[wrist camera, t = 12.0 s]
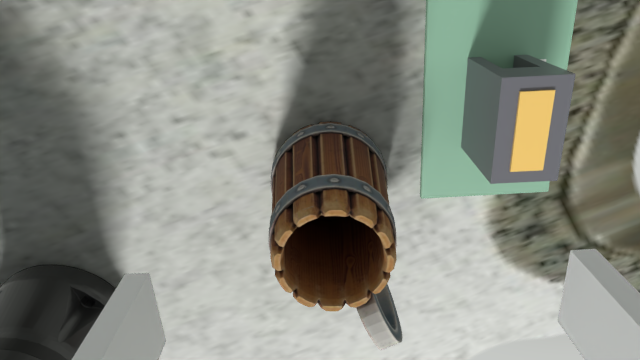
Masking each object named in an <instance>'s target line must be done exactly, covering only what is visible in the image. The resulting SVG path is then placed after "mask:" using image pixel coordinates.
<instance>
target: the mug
mask: <svg viewBox="0 0 640 360" xmlns="http://www.w3.org/2000/svg"><path fill="white" fill-rule="evenodd" d="M387 188H388V187H387V172H386V166H385V163H384V160H383V157H382V155H381V152H380V151H379V149H378V148H377V147H376V145H375V144H374V143H373V141H372V140H371V139H369V138H368V137H367V135H366V134H364V133H363V132H361V131H360V130H359V129H356V128H354V127H352V126H350V125H349V126H346V125H342V124H341V123H338V122H320V123H319V124H318V125H308V126H306V127H304V128H301V129H300V130H298V131H297V132H295V133H294V134H293V136H292V137H290V138H289V139H288V140H286V141H285V142H284V144H283V145H282V146H281V148H280V149H279V151H278V153H277V155H276V157H275V160H274V162H273V166H272V174H271V190H272V196H273V198H272V215H271V220H270V228H269V248H270V254H271V262H272V267H273V268H274V269H275V276H276V278H277V280H278V282H279V284H280V285H281V286H282V288H283V289H284V290H285V291H286V292H289V293H291V292H293V297H294V298H295V299H296V300H297V301H298V302H299V303H301V304H303V305H305V306H308V307H313V306H315V305H316V304H317V303H318V304H319V305H320V307H321V308H322V309H324V310H325V311H339V310H340V309H342V308H343V306H344V305H345V303H347V304H348V305H349V306H350V307H355V308H357V311H358V313H359V316H360V318H361V320H362V322H363V325H364V327H365V329H366V330H367V332H368V334H369V336H370V337H371V339H372V340H373V342H374V343H375V345H376V346H377V347H378V348H379V349H381V350H383V349H386V348H388V347H391V346H393V345H395V344H398V343H400V342H402V331H401V326H400V322H399V318H398V315H397V311H396V308H395V305H394V301H393V298H392V295H391V293H390V290H389V287H388V285H387V282H388V280H389V278H390V272H391V271H392V270H393V269H394V266H395V262H396V246H397V243H396V228H395V222H394V217H393V214H392V212H391V209H390V206H389V200H388V194H387Z"/></svg>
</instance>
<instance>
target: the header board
mask: <svg viewBox="0 0 640 360" xmlns="http://www.w3.org/2000/svg"><path fill="white" fill-rule="evenodd" d="M577 1H578V0H426V25H425V57H424V88H423V120H422V152H421V183H420V197H421V199H422V198H440V197H458V196H476V195H494V194H512V193H530V192H548V189H549V182H550V181H540V182H519V183H499V184H490V183H489V181H488V180H487V179H486V178H485V176H484V175H483V174H482V173H481V171H480V170H479V169H478V168H477V166H476V165H475V164H474V163H473V162H472V160H471V159H470V158H469V157H468V155H467V154H466V153H465V152H464V150H463V149H462V148H461V139H462V126H463V113H464V100H465V87H466V74H467V61H468V58H471V57H482V58H484V59H486V60H487V61H489V62H491V63H493V64H495V65H497V66H499V67H501V68H502V69H503V68H513V63H514V55H530V56H532V57H535V58H537V59H540V60H542V61H545V62H547V63H550V64H552V65H555V66H557V67H559V68H562V69H564V70H567V66H568V59H569V53H570V46H571V40H572V33H573V27H574V20H575V14H576V7H577Z"/></svg>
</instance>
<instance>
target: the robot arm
mask: <svg viewBox="0 0 640 360" xmlns="http://www.w3.org/2000/svg"><path fill="white" fill-rule="evenodd" d="M558 322H559V324H560V325H561V327H562V328H563V329H564V331H565V332H566V334H567V335H568V337H569V338H570V340H571V341H572V342H573V344H574V345H575V347H576V348H577V350H578V351H579V353H580V354H581V356H582V357H583V358H584V360H640V293H639V292H638V291H637V290H636V289H635V288H634V287H633V286H632V285H631V284H630V283H629V282H628V281H627V280H626V279H625V278H624V277H623V276H622V275H621V274H620V273H619V272H618V271H617V270H616V269H615V268H614V267H613V266H612V265H611V264H610V263H609V262H608V261H607V260H606V259H605V258H604V257H603V256H602V255H601V254H600V253H599V252H598V251H597V250H596V249H587V250H571V251H570V257H569V262H568V267H567V273H566V278H565V283H564V289H563V294H562V299H561V305H560V310H559V315H558ZM165 342H166V338H165V334H164V330H163V326H162V322H161V318H160V314H159V310H158V306H157V302H156V298H155V294H154V290H153V286H152V282H151V278H150V274H149V273H138V274H125V275H124V277H123V278H122V280H121V281H120V283H119V285H118V286H117V288H116V289H115V288H114V287H112V286H111V285H110V284H108V283H107V282H106V281H104V280H102V279H101V278H99V277H97V276H95V275H93V274H91V273H88V272H86V271H83V270H80V269H76V268H72V267H67V266H60V265H43V266H36V267H31V268H28V269H25V270H22V271H20V272H18V273H16V274H15V275H13V276H12V277H10V278H9V279H8V280H7V281H6V282H5V283H4V284H3V285H2V286H1V287H0V360H158V359H159V357H160V354H161V352H162V349H163V347H164V345H165Z"/></svg>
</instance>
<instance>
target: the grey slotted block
mask: <svg viewBox="0 0 640 360" xmlns="http://www.w3.org/2000/svg"><path fill="white" fill-rule="evenodd" d="M574 80H575V74H574V73H572V72H569V71H567V70H564V69H562V68H559V67H557V66H555V65H552V64H550V63H547V62H545V61H542V60H540V59H537V58H535V57H532V56H530V55H514V63H513V68H503V69H502V68H501V67H499V66H497V65H495V64H493V63H491V62H489V61H487V60H486V59H484V58H482V57H471V58H468V61H467V74H466V87H465V100H464V113H463V126H462V139H461V148H462V149H463V150H464V152H465V153H466V154H467V155H468V157H469V158H470V159H471V160H472V162H473V163H474V164H475V165H476V166H477V168H478V169H479V170H480V171H481V173H482V174H483V175H484V176H485V178H486V179H487V180H488V181H489V183H490V184H499V183H519V182H540V181H557V179H558V173H559V168H560V162H561V156H562V150H563V144H564V138H565V133H566V127H567V121H568V115H569V109H570V103H571V97H572V92H573V86H574Z"/></svg>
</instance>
